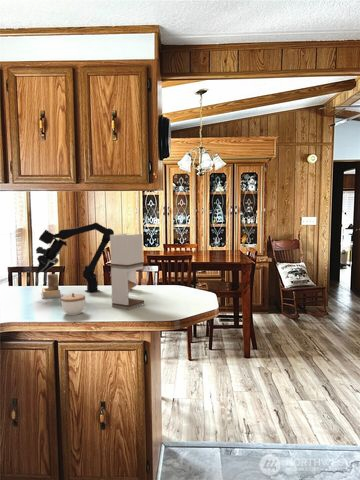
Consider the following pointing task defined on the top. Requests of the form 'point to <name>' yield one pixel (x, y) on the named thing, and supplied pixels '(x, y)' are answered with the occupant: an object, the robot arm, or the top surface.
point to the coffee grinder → (125, 268)
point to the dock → (50, 293)
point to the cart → (52, 282)
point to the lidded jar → (73, 303)
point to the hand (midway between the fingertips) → (40, 272)
